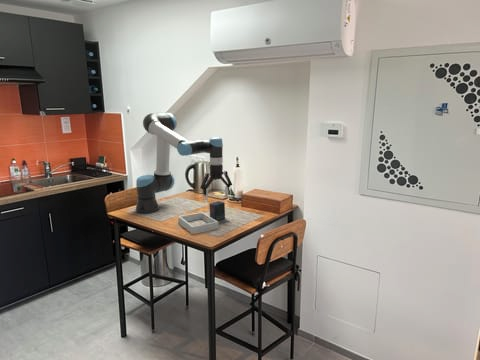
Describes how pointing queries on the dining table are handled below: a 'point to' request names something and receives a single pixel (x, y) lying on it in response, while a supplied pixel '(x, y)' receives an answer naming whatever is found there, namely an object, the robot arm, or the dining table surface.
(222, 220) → the mat
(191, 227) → the bin
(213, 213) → the box
